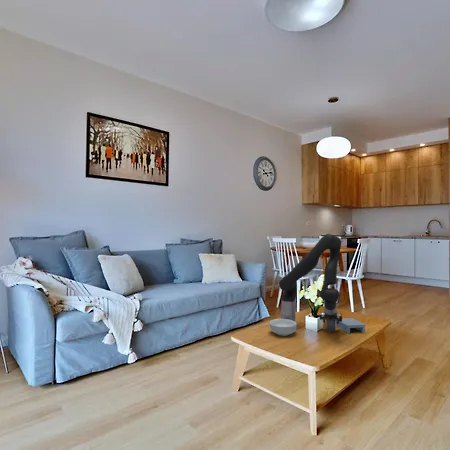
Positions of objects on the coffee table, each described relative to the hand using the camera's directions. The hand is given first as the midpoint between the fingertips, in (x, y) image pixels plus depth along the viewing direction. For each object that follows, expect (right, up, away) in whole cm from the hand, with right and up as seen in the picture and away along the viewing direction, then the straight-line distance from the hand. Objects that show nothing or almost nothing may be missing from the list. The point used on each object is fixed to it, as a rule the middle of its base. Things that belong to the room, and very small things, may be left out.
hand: (330, 322), depth 200 cm
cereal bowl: (-33, -5, -8) cm, 34 cm away
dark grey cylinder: (-1, -5, -1) cm, 5 cm away
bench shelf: (+12, -4, 0) cm, 13 cm away
